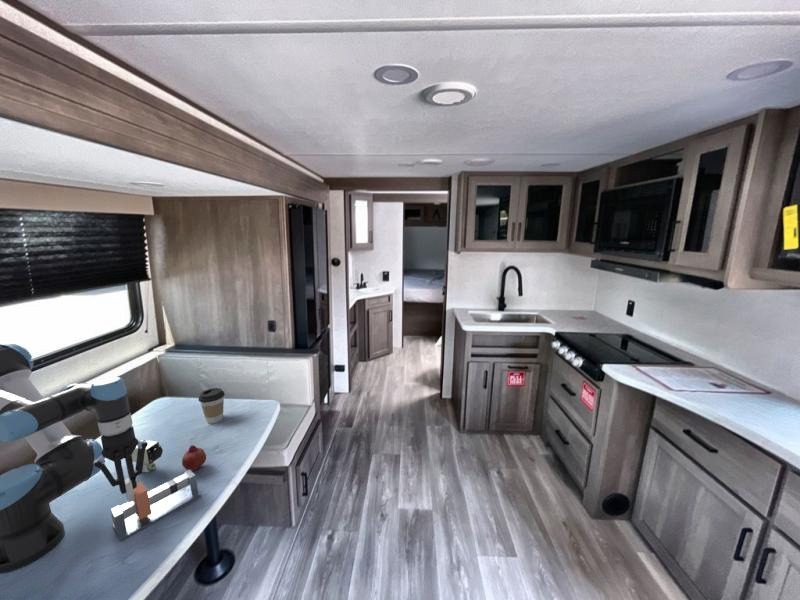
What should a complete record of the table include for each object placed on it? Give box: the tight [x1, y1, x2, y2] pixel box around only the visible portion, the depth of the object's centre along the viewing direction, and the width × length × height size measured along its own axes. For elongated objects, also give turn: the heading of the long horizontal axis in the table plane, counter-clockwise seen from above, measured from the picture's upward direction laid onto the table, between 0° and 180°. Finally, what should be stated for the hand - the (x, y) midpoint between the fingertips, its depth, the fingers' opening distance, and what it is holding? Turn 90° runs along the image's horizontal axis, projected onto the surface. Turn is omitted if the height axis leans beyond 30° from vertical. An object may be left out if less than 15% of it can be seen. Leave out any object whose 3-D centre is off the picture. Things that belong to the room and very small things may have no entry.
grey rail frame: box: [110, 470, 202, 543], centre depth 109 cm, size 22×9×8 cm, turn 142°
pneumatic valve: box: [131, 439, 164, 473], centre depth 129 cm, size 6×12×12 cm, turn 78°
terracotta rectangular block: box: [133, 481, 152, 520], centre depth 105 cm, size 3×6×8 cm, turn 52°
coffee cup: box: [198, 387, 226, 425], centre depth 164 cm, size 11×11×15 cm
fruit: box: [181, 444, 207, 472], centre depth 129 cm, size 8×8×10 cm
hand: (130, 499), depth 103 cm, fingers closed
